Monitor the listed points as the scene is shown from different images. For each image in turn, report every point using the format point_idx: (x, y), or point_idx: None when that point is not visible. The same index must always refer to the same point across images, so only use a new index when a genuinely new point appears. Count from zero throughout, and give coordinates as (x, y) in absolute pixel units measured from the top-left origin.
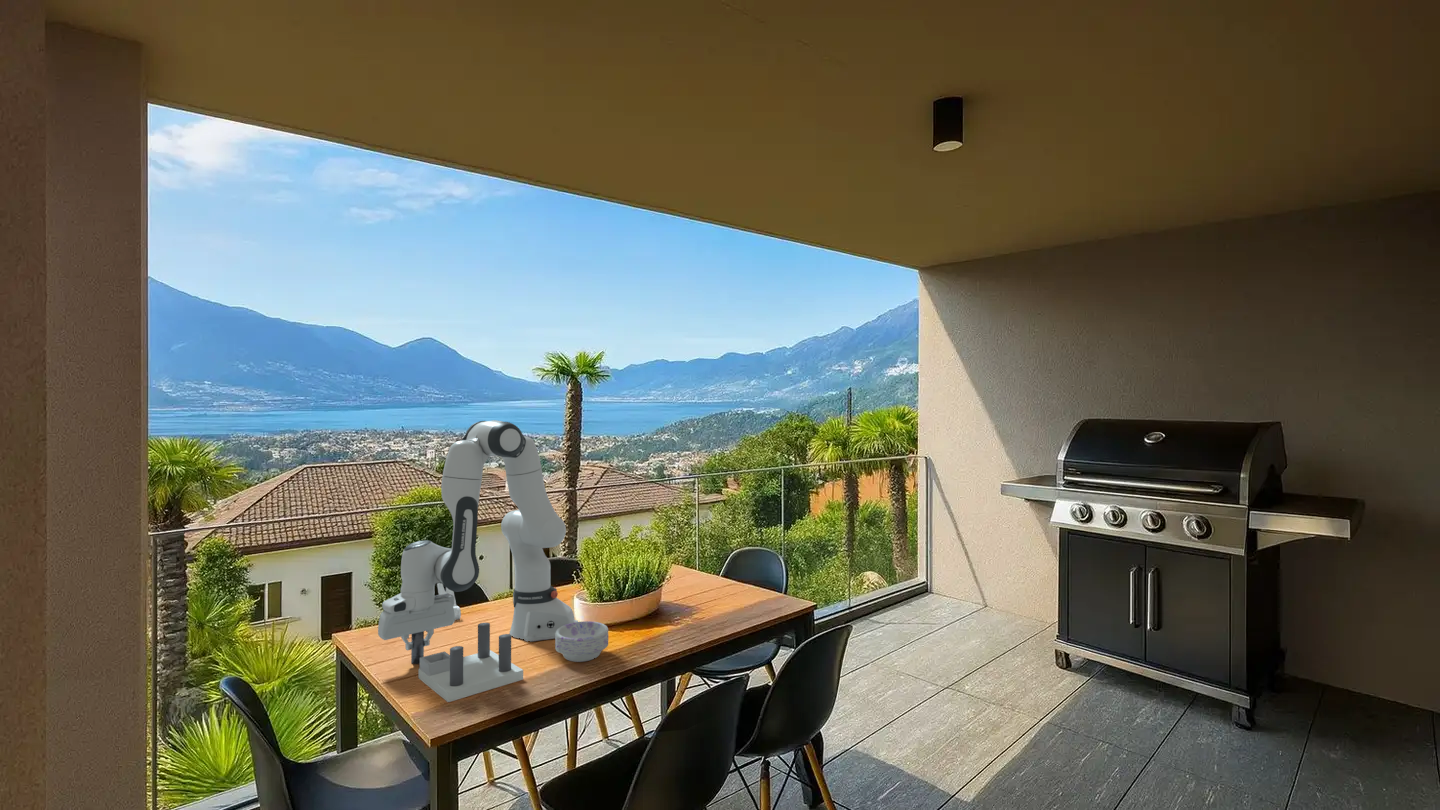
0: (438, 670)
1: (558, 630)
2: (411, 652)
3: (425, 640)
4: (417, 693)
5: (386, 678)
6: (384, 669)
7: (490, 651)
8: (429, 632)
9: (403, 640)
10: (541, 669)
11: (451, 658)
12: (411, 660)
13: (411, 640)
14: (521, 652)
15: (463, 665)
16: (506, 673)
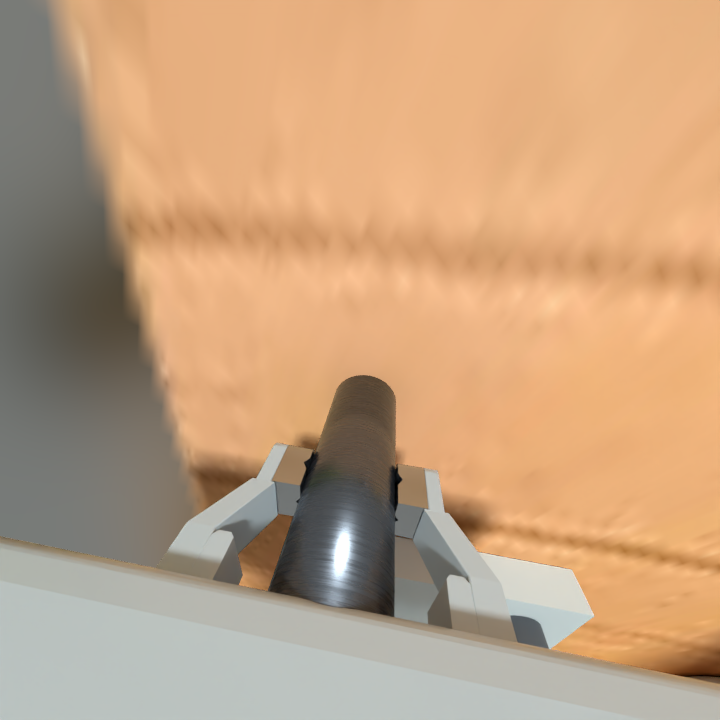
0: None
1: None
2: (321, 435)
3: (397, 534)
4: (260, 568)
5: (202, 449)
6: (207, 363)
7: (577, 621)
8: (434, 624)
9: (221, 508)
10: None
11: None
12: (332, 402)
13: (296, 507)
14: (687, 603)
15: (411, 619)
16: None
